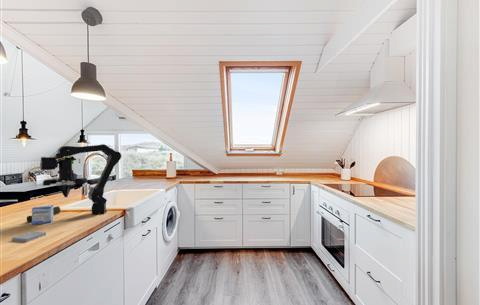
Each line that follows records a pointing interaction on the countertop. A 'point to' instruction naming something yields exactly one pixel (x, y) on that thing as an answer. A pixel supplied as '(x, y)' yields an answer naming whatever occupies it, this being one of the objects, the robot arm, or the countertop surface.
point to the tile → (28, 236)
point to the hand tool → (55, 211)
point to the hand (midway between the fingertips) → (66, 197)
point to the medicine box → (42, 214)
